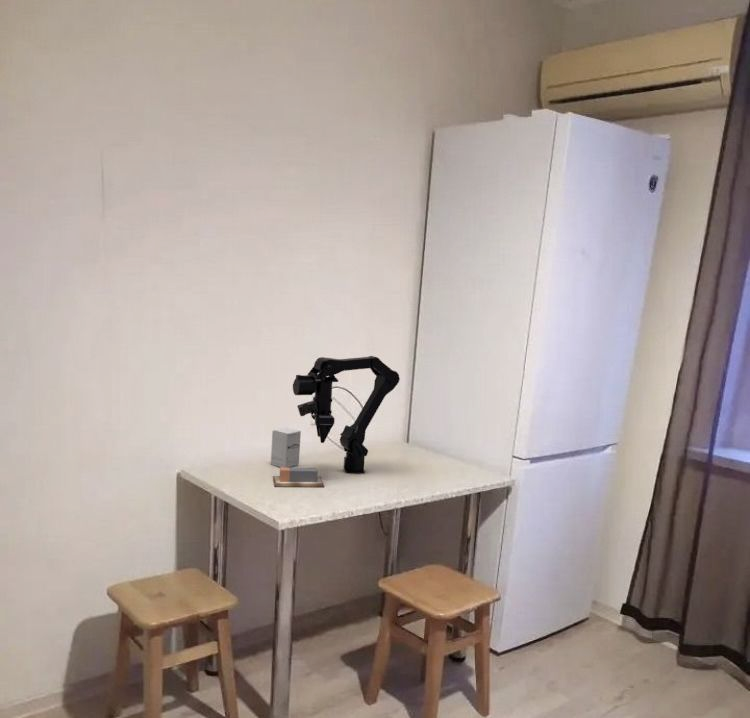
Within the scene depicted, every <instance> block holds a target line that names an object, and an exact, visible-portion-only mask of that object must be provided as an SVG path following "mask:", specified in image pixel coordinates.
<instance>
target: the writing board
mask: <svg viewBox="0 0 750 718" xmlns="http://www.w3.org/2000/svg"><path fill="white" fill-rule="evenodd" d="M279 478H280V475H273V476H272V481H273V486H274V488H325V484H324V482H323V480H322V477H321V476H317V482H280V479H279Z"/></svg>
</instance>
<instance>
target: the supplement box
mask: <svg viewBox="0 0 750 718" xmlns="http://www.w3.org/2000/svg"><path fill="white" fill-rule="evenodd" d="M271 437H272V438H271V454H270V465H272V466H275V467H279V468H280V467H289V468H292V467H295V466H299V465H300V454H301V453H300V452H301V451H300V450H301V449H300V448H301V430H299V429H294V428H288V427H285V428H278V429H273V430H272V433H271Z"/></svg>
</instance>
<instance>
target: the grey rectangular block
mask: <svg viewBox="0 0 750 718" xmlns="http://www.w3.org/2000/svg"><path fill="white" fill-rule="evenodd" d="M318 474H319V473H318V468H316V467H314V468H313V467H279V476H280V478H279V479H280V482H317V477H318Z"/></svg>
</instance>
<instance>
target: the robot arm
mask: <svg viewBox="0 0 750 718" xmlns="http://www.w3.org/2000/svg"><path fill="white" fill-rule="evenodd" d="M313 364H314V366H313V367H312V368H311V369H310V371H309V372H308V373H307V375H301V374H295V379H294V380H293V383H292V391H293V395H295V396H312V395H313V397H312V400H311V401H308V402H307V401H306V402H304V403H301V404H298V405H297V406H296V407H297V410H298V412H299V413H298V414H299V415H300V417H305V416H306V415H308V414H310V416H311V419H313V420H314V424H315V427H316V434H317V437H319V439H320V443H321V444H324V443H326V439H327V438H328V436H329V434H330V431H331V430H332V427H334V425H335V417H334V416H333V414H332V413H333V411H332V403H333V398H332V395H333V383H338V382H339V379H338V378H337V377H336V375H337V374H340V373H342V372H345V371H346V372H347V371H356V370H365V369H370V370H371V372H372V373H373V374H374V375H375V376H376V377H375V378H374V385H373V390H372V391H371V394H370V395H369V397H367V398H368V399H366V402H365V404H364V405H363V406H362V407H363V408H361V410H360V412H359V414H358V415H357V417H356V419H355V421H354V422H353V424H351V425H350V426H349V425H345V427H344V428H343V430H342V431H341V433H340V434H339V435H340V437H339V443H340V446H342V448H343V450H344V452H345V456H344V457H343V470H344V471H345V473H349V474H365V472H366V471H365V457H367V456H368V453H369V450H368V448H367V447H366V446H365V445H364V442H365V440H366V439H365V438H366V431H367V428H368V426H369V425H370V424H371V422H372V420H373V418H374V417H375V415H376V413H377V412H378V409H379V408H380V406H381V404H382V403H383V401H384V399H385V397H387V395H388V394H390V393H391V392H392V391H393V390H395V388H396V386H397V385H398V384H399V383H400V380H401V378H400V375H399V373H398V371H396V370H393V369H392V368H390V367H389V366H388V365H387V364H385V363H384V362H383V361H382V360H381V358H379V357H377V356H373V355H369V356H362V357H350V358H349V357H348V358H342V359H341V358H332V357H324V356H323V357H322V356H321V357H317V359H316V360H315V362H314V363H313Z"/></svg>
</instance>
